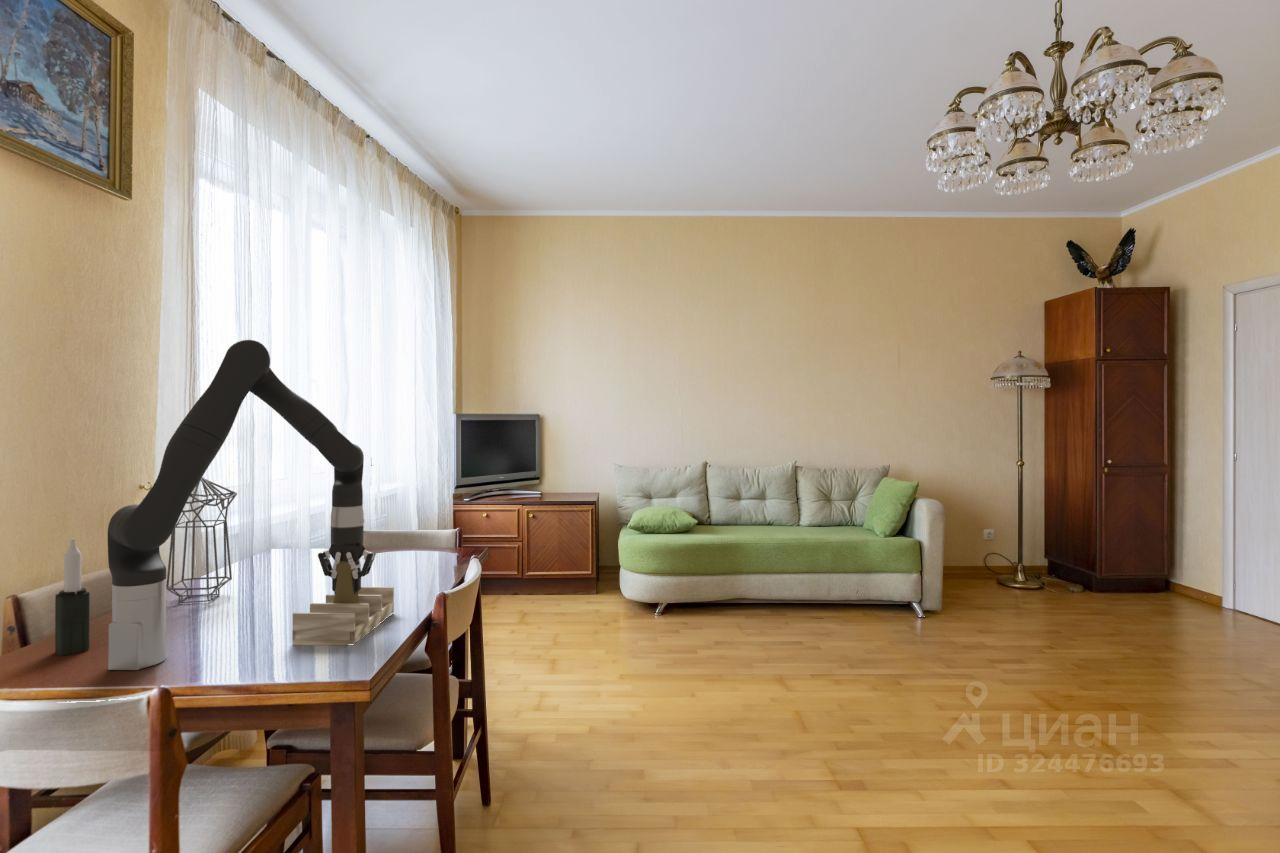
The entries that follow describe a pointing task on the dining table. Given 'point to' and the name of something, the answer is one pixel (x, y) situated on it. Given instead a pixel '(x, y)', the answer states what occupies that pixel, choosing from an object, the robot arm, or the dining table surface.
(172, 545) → the geometric lantern
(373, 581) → the dining table surface
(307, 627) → the slot rack
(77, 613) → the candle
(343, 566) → the cork
